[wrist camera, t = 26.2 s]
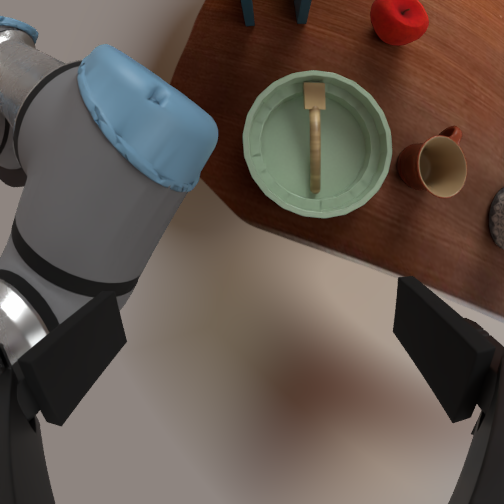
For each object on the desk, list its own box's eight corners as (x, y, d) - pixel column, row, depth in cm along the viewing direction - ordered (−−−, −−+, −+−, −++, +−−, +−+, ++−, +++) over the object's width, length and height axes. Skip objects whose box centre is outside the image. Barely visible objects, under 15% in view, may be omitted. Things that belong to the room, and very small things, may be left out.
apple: (351, 27, 40) (368, -3, 30) (381, 6, 38) (401, -23, 28) (389, 63, 41) (414, 41, 31) (417, 40, 40) (444, 18, 29)
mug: (418, 203, 47) (449, 210, 37) (381, 171, 46) (406, 171, 36) (450, 149, 44) (484, 146, 34) (415, 116, 43) (444, 106, 33)
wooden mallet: (323, 192, 47) (325, 195, 46) (304, 192, 47) (305, 195, 46) (323, 83, 40) (325, 82, 38) (302, 83, 40) (303, 82, 38)
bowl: (252, 215, 49) (249, 222, 43) (242, 87, 44) (237, 73, 38) (378, 209, 48) (394, 215, 41) (369, 85, 43) (383, 73, 36)
